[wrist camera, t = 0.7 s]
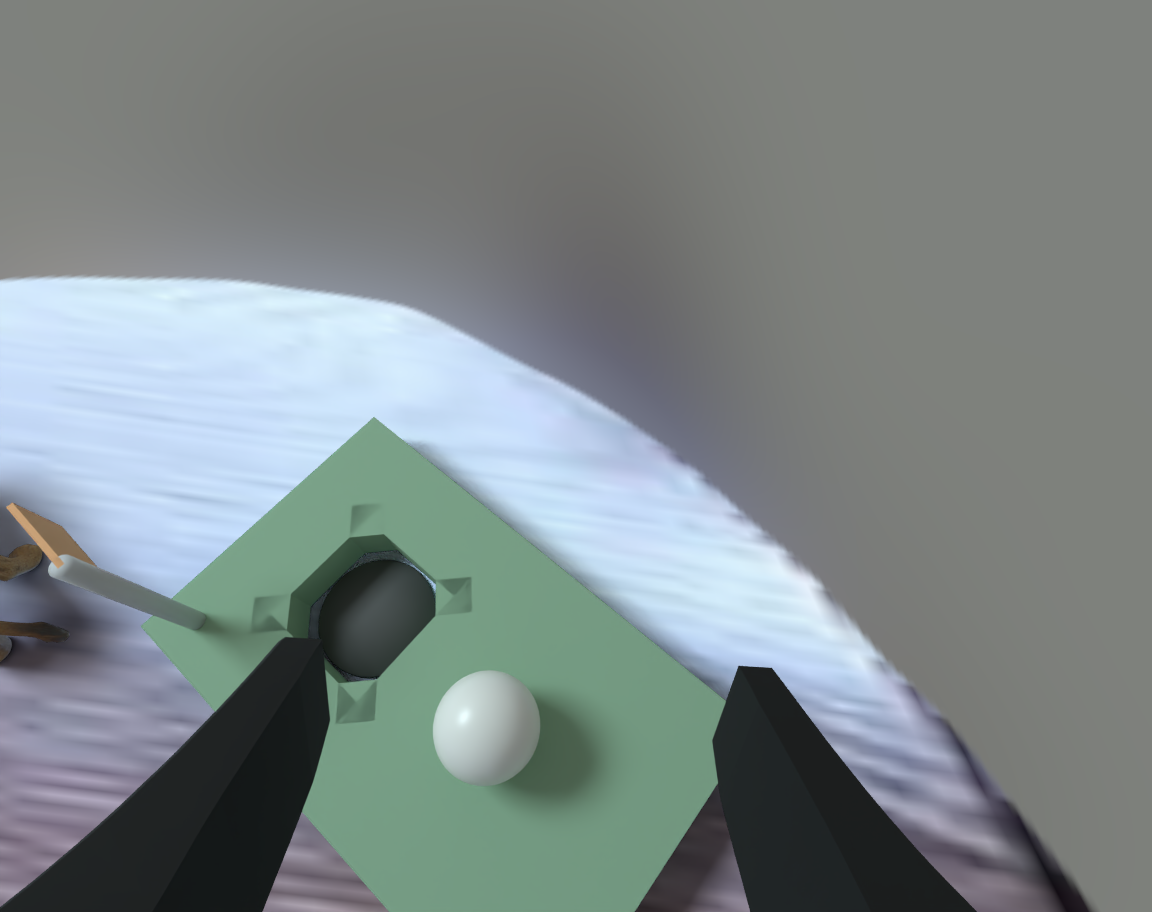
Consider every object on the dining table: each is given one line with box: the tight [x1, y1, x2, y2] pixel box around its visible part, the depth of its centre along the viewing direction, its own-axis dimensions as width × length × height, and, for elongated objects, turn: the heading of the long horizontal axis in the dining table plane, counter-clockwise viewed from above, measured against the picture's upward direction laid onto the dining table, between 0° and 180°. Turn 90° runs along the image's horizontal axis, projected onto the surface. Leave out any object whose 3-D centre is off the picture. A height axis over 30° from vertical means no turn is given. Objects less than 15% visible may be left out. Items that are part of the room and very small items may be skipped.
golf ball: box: [433, 670, 540, 786], centre depth 21 cm, size 4×4×4 cm
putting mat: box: [6, 417, 726, 912], centre depth 21 cm, size 22×12×9 cm, turn 50°
